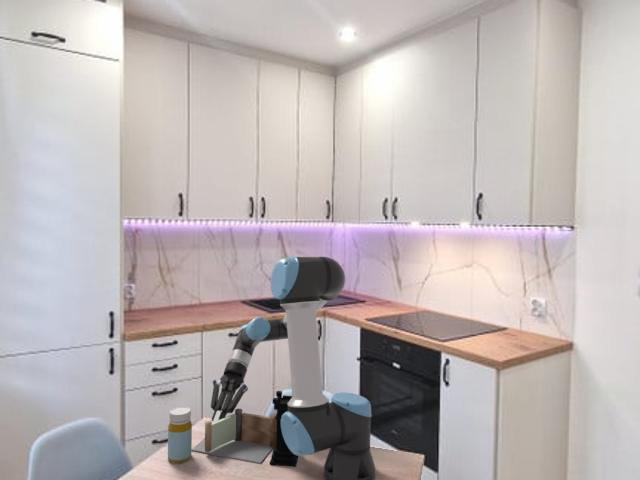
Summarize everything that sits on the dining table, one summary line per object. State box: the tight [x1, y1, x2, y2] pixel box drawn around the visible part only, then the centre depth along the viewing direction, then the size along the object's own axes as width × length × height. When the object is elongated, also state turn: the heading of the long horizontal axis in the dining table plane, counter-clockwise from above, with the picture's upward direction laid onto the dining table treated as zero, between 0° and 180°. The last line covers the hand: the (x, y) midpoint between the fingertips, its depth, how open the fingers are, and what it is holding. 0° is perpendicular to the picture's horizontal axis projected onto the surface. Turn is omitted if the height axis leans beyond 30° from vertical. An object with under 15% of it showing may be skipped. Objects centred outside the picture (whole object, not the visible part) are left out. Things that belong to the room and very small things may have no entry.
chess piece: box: [269, 390, 300, 468], centre depth 138 cm, size 8×8×20 cm
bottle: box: [167, 406, 193, 465], centre depth 137 cm, size 7×7×15 cm
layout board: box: [191, 437, 274, 465], centre depth 147 cm, size 24×16×1 cm, turn 74°
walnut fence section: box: [234, 408, 277, 447], centre depth 148 cm, size 15×2×10 cm, turn 74°
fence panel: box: [204, 413, 236, 452], centre depth 144 cm, size 12×2×9 cm, turn 141°
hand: (213, 432), depth 144 cm, fingers closed
